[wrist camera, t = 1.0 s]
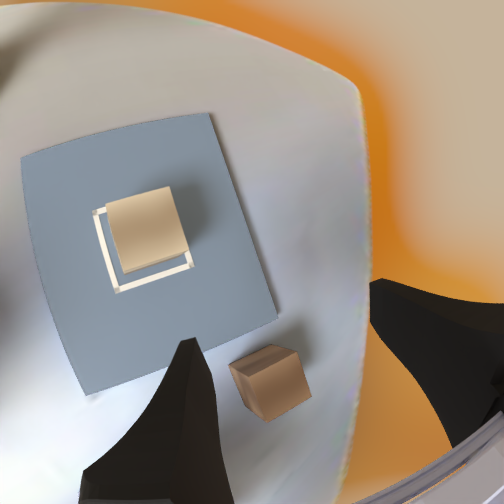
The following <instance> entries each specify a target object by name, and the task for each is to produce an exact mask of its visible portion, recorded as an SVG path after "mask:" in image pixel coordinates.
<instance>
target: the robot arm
mask: <svg viewBox="0 0 504 504" xmlns="http://www.w3.org/2000/svg"><path fill="white" fill-rule="evenodd" d="M369 285H370V322H371V324H372V326H373V328H374V329H375V331H376V332H377V334H378V335H379V337H380V338H381V340H382V341H383V342H384V343H385V344H386V346H387V347H388V348H389V349H390V350H391V351H392V352H393V354H395V356H396V357H397V358H398V359H399V360H400V361H401V362H402V364H403V365H404V366H405V367H406V368H407V369H408V370H409V372H410V373H411V374H412V375H413V377H414V378H415V379H416V381H417V382H418V384H419V385H420V387H421V388H422V390H423V391H424V393H425V394H426V396H427V398H428V399H429V401H430V403H431V405H432V406H433V408H434V410H435V411H436V413H437V415H438V417H439V419H440V421H441V423H442V425H443V427H444V429H445V432H446V434H447V436H448V438H449V441H450V443H451V446H452V448H453V449H452V450H450V451H449V452H447V453H446V454H444V455H443V456H441V457H440V458H438V459H437V460H435V461H434V462H432V463H431V464H429V465H427V466H426V467H424V468H423V469H421V470H419V471H417V472H416V473H414V474H412V475H410V476H409V477H407V478H405V479H403V480H401V481H400V482H398V483H396V484H394V485H392V486H390V487H388V488H386V489H384V490H382V491H380V492H378V493H376V494H374V495H372V496H369V497H367V498H365V499H362V500H360V501H358V502H355V503H353V504H402V503H404V502H406V501H408V500H410V499H411V498H413V497H415V496H417V495H418V494H420V493H422V492H423V491H425V490H427V489H428V488H430V487H431V486H433V485H435V484H436V483H438V482H439V481H441V480H442V479H444V478H445V477H447V476H448V475H450V474H451V473H452V472H454V471H455V470H457V469H458V468H459V467H461V466H462V465H464V464H465V463H466V462H467V463H466V465H465V466H464V467H463V468H462V469H460V470H459V471H458V472H456V473H455V474H453V475H452V476H451V477H449V478H448V479H446V480H445V481H443V482H442V483H440V484H439V485H437V486H436V487H434V488H433V489H431V490H429V491H428V492H426V493H424V494H423V495H421V496H420V497H418V498H416V499H415V500H413V501H411V502H410V503H408V504H504V304H503V303H502V304H501V303H500V304H498V303H496V304H495V303H480V302H470V301H464V300H458V299H453V298H448V297H444V296H440V295H436V294H433V293H429V292H426V291H423V290H419V289H416V288H413V287H410V286H407V285H404V284H401V283H397V282H394V281H391V280H387V279H383V278H381V279H378V280H376V281H373V282H370V283H369ZM78 497H79V502H78V504H234V500H233V497H232V493H231V490H230V486H229V482H228V478H227V474H226V470H225V466H224V462H223V457H222V453H221V446H220V438H219V427H218V415H217V403H216V394H215V389H214V384H213V379H212V374H211V372H210V369H209V367H208V365H207V363H206V360H205V358H204V356H203V353H202V351H201V349H200V346H199V344H198V341H197V339H196V337H193V338H190V339H186V340H182V341H180V343H179V345H178V347H177V349H176V351H175V354H174V356H173V358H172V361H171V363H170V365H169V367H168V369H167V371H166V373H165V375H164V378H163V380H162V382H161V383H160V385H159V387H158V389H157V391H156V392H155V394H154V396H153V398H152V399H151V401H150V403H149V404H148V406H147V407H146V409H145V410H144V412H143V413H142V414H141V416H140V417H139V418H138V420H137V421H136V422H135V423H134V424H133V426H132V427H131V428H130V429H129V430H128V431H127V433H126V434H125V435H124V436H123V437H122V438H121V439H120V440H119V441H118V442H117V443H116V444H115V445H114V446H113V447H112V448H111V449H110V450H109V451H108V452H107V453H105V454H104V455H103V456H102V457H101V458H99V459H98V460H97V461H96V462H94V463H93V464H92V465H90V466H89V467H88V468H86V469H85V470H84V471H83V474H82V480H81V486H80V491H79V492H78Z"/></svg>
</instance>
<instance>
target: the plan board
mask: <svg viewBox="0 0 504 504" xmlns="http://www.w3.org/2000/svg"><path fill="white" fill-rule="evenodd" d="M21 171H22V182H23V190H24V198H25V205H26V212H27V218H28V224H29V229H30V235H31V240H32V244H33V249H34V254H35V258H36V262H37V266H38V270H39V274H40V278H41V281H42V285H43V288H44V292H45V295H46V298H47V302H48V305H49V308H50V311H51V314H52V317H53V320H54V323H55V325H56V328H57V331H58V334H59V336H60V339H61V341H62V344H63V347H64V349H65V351H66V354H67V356H68V359H69V361H70V363H71V366H72V368H73V370H74V372H75V375H76V377H77V379H78V381H79V383H80V385H81V387H82V389H83V391H84V393H85V395H86V396H87V395H90V394H93V393H96V392H99V391H102V390H105V389H108V388H111V387H114V386H117V385H120V384H122V383H125V382H128V381H131V380H134V379H136V378H139V377H142V376H144V375H147V374H150V373H152V372H155V371H158V370H160V369H163V368H165V367H168V366H169V365H170V363H171V361H172V358H173V356H174V354H175V351H176V349H177V347H178V345H179V343H180V341H182V340H186V339H190V338H193V337H196V339H197V341H198V344H199V346H200V349H201V351H202V352H205V351H207V350H209V349H212V348H214V347H217V346H219V345H221V344H223V343H226V342H228V341H230V340H233V339H235V338H237V337H239V336H242V335H244V334H246V333H248V332H250V331H253V330H255V329H257V328H259V327H261V326H263V325H265V324H268V323H270V322H272V321H274V320H276V319H278V315H277V312H276V309H275V306H274V303H273V300H272V297H271V294H270V291H269V288H268V285H267V282H266V280H265V277H264V274H263V271H262V268H261V265H260V262H259V259H258V256H257V253H256V250H255V247H254V244H253V242H252V239H251V236H250V233H249V230H248V227H247V224H246V221H245V218H244V215H243V212H242V209H241V207H240V204H239V201H238V198H237V195H236V192H235V189H234V186H233V183H232V180H231V178H230V175H229V172H228V169H227V166H226V163H225V160H224V157H223V154H222V152H221V149H220V146H219V143H218V140H217V137H216V134H215V131H214V128H213V126H212V123H211V120H210V117H209V114H208V113H203V114H195V115H188V116H181V117H175V118H169V119H163V120H157V121H152V122H147V123H141V124H137V125H132V126H127V127H123V128H118V129H114V130H110V131H106V132H102V133H98V134H94V135H90V136H87V137H83V138H79V139H76V140H73V141H69V142H66V143H63V144H59V145H56V146H53V147H50V148H47V149H44V150H41V151H38V152H35V153H33V154H30V155H27V156H24V157H22V158H21ZM168 186H169V187H170V190H171V193H172V197H173V200H174V203H175V207H176V210H177V213H178V216H179V219H180V223H181V226H182V229H183V232H184V235H185V238H186V241H187V244H188V247H189V250H188V251H187V252H185V253H184V254H182V255H181V256H179V257H177V258H175V259H172V260H169V261H166V262H163V263H160V264H157V265H154V266H151V267H147V268H144V269H142V270H139V271H136V272H133V273H130V274H127V275H124V273H123V270H122V267H121V264H120V260H119V257H118V254H117V250H116V247H115V244H114V240H113V236H112V233H111V229H110V225H109V222H108V217H107V211H106V205H105V204H107V203H110V202H113V201H117V200H120V199H124V198H127V197H131V196H134V195H138V194H142V193H145V192H149V191H153V190H157V189H160V188H164V187H168Z"/></svg>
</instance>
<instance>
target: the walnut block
mask: <svg viewBox="0 0 504 504" xmlns="http://www.w3.org/2000/svg"><path fill="white" fill-rule="evenodd" d="M228 366H229V368H230V371H231V373H232V376H233V378H234V381H235V383H236V385H237V388H238V390H239V393H240V395H241V397H242V400H243V402H244V404H245V406H246V407H247V408H248V409H250V410H251V411H252V412H253V413H255V414H256V415H257V416H259V417H260V418H261V419H263V420H264V421H265V422H267V423H268V422H270V421H271V420H273V419H275V418H277V417H278V416H280V415H282V414H284V413H285V412H287V411H289V410H290V409H292V408H294V407H295V406H297V405H299V404H300V403H302V402H304V401H305V400H307V399H308V398H310V397H312V396H311V393H310V390H309V387H308V384H307V381H306V378H305V374H304V371H303V368H302V365H301V362H300V359H299V356H298V353H297V352H296V351H293V350H289V349H286V348H282V347H278V346H275V345H272V344H271V345H269V346H267V347H265V348H263V349H261V350H259V351H257V352H255V353H252V354H250V355H248V356H246V357H244V358H242V359H240V360H238V361H236V362H233V363H231V364H229V365H228Z"/></svg>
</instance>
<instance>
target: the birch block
mask: <svg viewBox="0 0 504 504" xmlns="http://www.w3.org/2000/svg"><path fill="white" fill-rule="evenodd" d="M105 205H106V211H107V217H108V222H109V225H110V229H111V233H112V236H113V240H114V244H115V247H116V250H117V254H118V257H119V260H120V264H121V267H122V270H123V273H124V275H127V274H130V273H133V272H136V271H139V270H142V269H144V268H147V267H151V266H154V265H157V264H160V263H163V262H166V261H169V260H172V259H175V258H177V257H179V256H181V255H182V254H184V253H185V252H187V251H188V250H189V247H188V244H187V241H186V238H185V235H184V232H183V229H182V226H181V223H180V219H179V216H178V213H177V210H176V207H175V203H174V200H173V197H172V193H171V190H170V187H169V186H168V187H164V188H160V189H157V190H153V191H149V192H145V193H142V194H138V195H134V196H131V197H127V198H124V199H120V200H117V201H113V202H110V203H107V204H105Z"/></svg>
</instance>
